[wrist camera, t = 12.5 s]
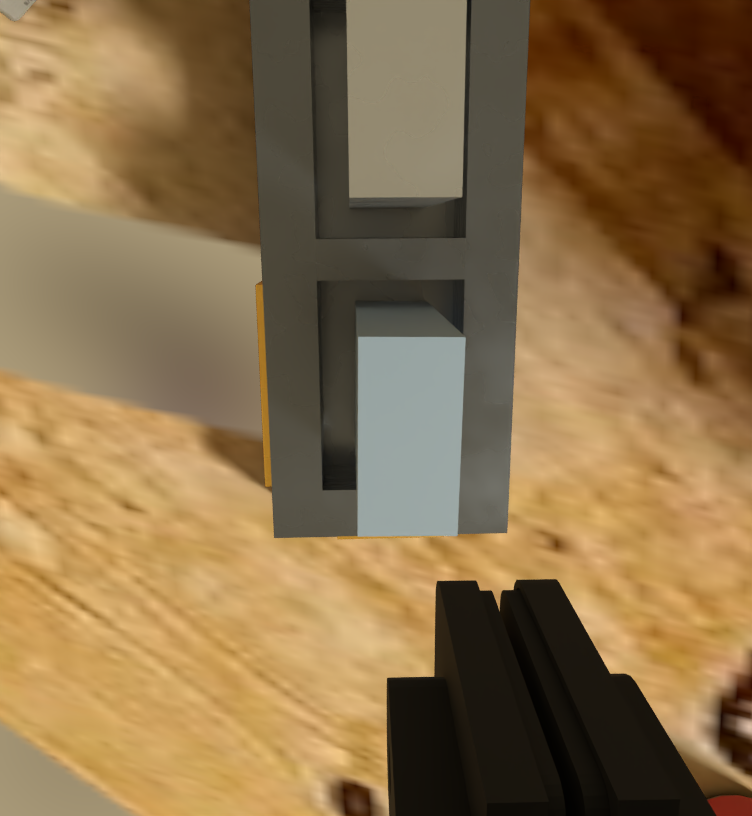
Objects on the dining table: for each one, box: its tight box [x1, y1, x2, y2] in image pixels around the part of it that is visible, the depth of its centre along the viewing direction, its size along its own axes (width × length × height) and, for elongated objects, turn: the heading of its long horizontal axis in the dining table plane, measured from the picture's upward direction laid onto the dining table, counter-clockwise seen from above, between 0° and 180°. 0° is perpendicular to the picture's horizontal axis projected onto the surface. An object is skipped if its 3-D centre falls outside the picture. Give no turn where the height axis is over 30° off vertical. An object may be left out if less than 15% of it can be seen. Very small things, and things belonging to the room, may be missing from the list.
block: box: [355, 301, 466, 537], centre depth 25 cm, size 3×6×10 cm, turn 179°
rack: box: [249, 0, 530, 539], centre depth 24 cm, size 10×22×11 cm, turn 0°
